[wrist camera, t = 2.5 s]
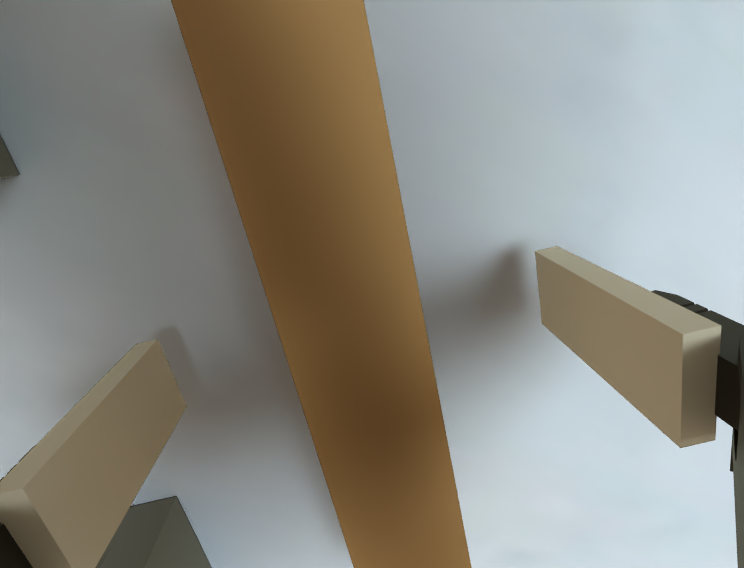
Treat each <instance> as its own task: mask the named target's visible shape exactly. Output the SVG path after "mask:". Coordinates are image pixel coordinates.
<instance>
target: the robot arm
mask: <svg viewBox="0 0 744 568" xmlns="http://www.w3.org/2000/svg"><path fill="white" fill-rule="evenodd" d="M535 257H536V267H537V277H538V288H539V298H540V308H541V319H542V324H543V325H544V326H545V327H546V328H547V329H549V330H550V331H551V332H552V333H553V334H554V335H555V336H556V337H557V338H559V339H560V340H561V341H562V342H563V343H564V344H565V345H566V346H567V347H569V348H570V349H571V350H572V351H573V352H574V353H575V354H576V355H577V356H579V357H580V358H581V359H582V360H583V361H584V362H585V363H586V364H587V365H589V366H590V367H591V368H592V369H593V370H594V371H595V372H596V373H597V374H599V375H600V376H601V377H602V378H603V379H604V380H605V381H606V382H607V383H609V384H610V385H611V386H612V387H613V388H614V389H615V390H616V391H618V392H619V393H620V394H621V395H622V396H623V397H624V398H625V399H626V400H628V401H629V402H630V403H631V404H632V405H633V406H634V407H635V408H636V409H638V410H639V411H640V412H641V413H642V414H643V415H644V416H645V417H646V418H648V419H649V420H650V421H651V422H652V423H653V424H654V425H655V426H656V427H658V428H659V429H660V430H661V431H662V432H663V433H664V434H665V435H666V436H668V437H669V438H670V439H671V440H672V441H673V442H674V443H675V444H676V445H678V446H679V447H680V448H683V447H687V446H692V445H696V444H700V443H705V442H709V441H713V440H715V435H716V417H717V416H718V417H719V418H721V419H722V420H723V421H725V422H726V423H727V424H729V425H730V426H732V427H733V435H732V449H731V464H730V471H732V472H733V474H734V495H735V516H736V537H737V559H738V568H744V325H742V324H740V323H737V322H735V321H733V320H731V319H729V318H726V317H724V316H722V315H720V314H718V313H716V312H713V311H708V309H707V308H705V307H702V306H700V305H698V304H695V305H694V302H691V301H689V300H687V299H685V298H683V297H680V296H678V295H675V294H670V293H666V292H661V291H657V290H655V291H649V290H647V289H645V288H643V287H641V286H639V285H636V284H634V283H632V282H630V281H628V280H626V279H624V278H622V277H620V276H618V275H616V274H614V273H612V272H610V271H608V270H605V269H603V268H601V267H599V266H597V265H595V264H593V263H591V262H589V261H587V260H585V259H583V258H581V257H579V256H576V255H574V254H572V253H570V252H568V251H566V250H564V249H562V248H560V247H558V246H555V247H551V248H546V249H542V250H538V251H535ZM186 407H187V406H186V403H185V401H184V399H183V396H182V394H181V392H180V389H179V387H178V385H177V382H176V380H175V378H174V375H173V373H172V370H171V368H170V366H169V363H168V361H167V359H166V356H165V354H164V352H163V349H162V347H161V345H160V342H159V340H158V339H156V340H152V341H147V342H143V343H139V344H136V345H135V346H134V347H133V348H132V349H131V350H130V351H129V352H128V353H127V354H126V355H125V356H124V357H123V358H122V359H121V360H120V361H119V362H118V363H117V364H116V365H115V366H114V367H113V368H112V369H111V370H110V371H109V372H108V373H107V374H106V375H105V376H104V377H103V378H102V379H101V380H100V381H99V382H98V383H97V384H96V385H95V386H94V387H93V388H92V389H91V390H90V391H89V392H88V393H87V394H86V395H85V396H84V397H83V398H82V399H81V400H80V401H79V402H78V403H77V404H76V405H75V406H74V407H73V408H72V409H71V410H70V411H69V412H68V413H67V414H66V415H65V416H64V417H63V418H62V419H61V420H60V421H59V422H58V423H57V424H56V425H55V426H54V428H53V429H52V430H51V431H50V432H49V433H48V434H47V435H46V436H45V437H44V438H43V439H42V440H41V441H40V442H39V443H38V444H37V445H35V446H34V447H33V448H32V449H31V450H30V451H29V452H28V453H27V454H26V455H25V456H24V457H23V458H22V459H21V460H20V461H19V463H18V464H16V465H15V466H14V467H13V468H12V469H11V470H10V471H9V472H8V473H7V475H6V476H5V477H3V478H2V479H1V480H0V568H95V567H96V566H97V564H98V562H99V560H100V558H101V557H102V555H103V553H104V551H105V550H106V548H107V546H108V544H109V543H110V541H111V539H112V537H113V536H114V534H115V532H116V530H117V529H118V527H119V525H120V523H121V522H122V520H123V518H124V516H125V514H126V513H127V511H128V509H129V507H130V506H131V504H132V502H133V500H134V499H135V497H136V495H137V493H138V492H139V490H140V488H141V486H142V485H143V483H144V481H145V479H146V477H147V476H148V474H149V472H150V470H151V469H152V467H153V465H154V463H155V462H156V460H157V458H158V456H159V455H160V453H161V451H162V449H163V448H164V446H165V444H166V442H167V440H168V439H169V437H170V435H171V433H172V432H173V430H174V428H175V426H176V425H177V423H178V421H179V419H180V418H181V416H182V414H183V412H184V411H185V409H186Z"/></svg>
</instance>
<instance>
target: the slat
mask: <svg viewBox="0 0 744 568" xmlns="http://www.w3.org/2000/svg"><path fill="white" fill-rule="evenodd" d="M171 2H172V5H173V8H174V11H175V14H176V17H177V20H178V23H179V27H180V30H181V33H182V36H183V39H184V42H185V45H186V48H187V51H188V54H189V58H190V61H191V64H192V67H193V70H194V73H195V76H196V79H197V82H198V85H199V89H200V92H201V95H202V98H203V101H204V104H205V107H206V110H207V113H208V116H209V120H210V123H211V126H212V129H213V132H214V135H215V138H216V141H217V144H218V148H219V151H220V154H221V157H222V160H223V163H224V166H225V169H226V172H227V175H228V179H229V182H230V185H231V188H232V191H233V194H234V197H235V200H236V203H237V206H238V210H239V213H240V216H241V219H242V222H243V225H244V228H245V231H246V234H247V237H248V241H249V244H250V247H251V250H252V253H253V256H254V259H255V262H256V265H257V268H258V272H259V275H260V278H261V281H262V284H263V287H264V290H265V293H266V296H267V300H268V303H269V306H270V309H271V312H272V315H273V318H274V321H275V324H276V327H277V331H278V334H279V337H280V340H281V343H282V346H283V349H284V352H285V355H286V358H287V362H288V365H289V368H290V371H291V374H292V377H293V380H294V383H295V386H296V389H297V393H298V396H299V399H300V402H301V405H302V408H303V411H304V414H305V417H306V421H307V424H308V427H309V430H310V433H311V436H312V439H313V442H314V445H315V448H316V452H317V455H318V458H319V461H320V464H321V467H322V470H323V473H324V476H325V479H326V483H327V486H328V489H329V492H330V495H331V498H332V501H333V504H334V507H335V510H336V514H337V517H338V520H339V523H340V526H341V529H342V532H343V535H344V538H345V542H346V545H347V548H348V551H349V554H350V557H351V560H352V563H353V566H354V568H471V563H470V558H469V552H468V547H467V542H466V537H465V531H464V526H463V521H462V516H461V510H460V505H459V500H458V494H457V489H456V484H455V479H454V473H453V468H452V463H451V458H450V452H449V447H448V442H447V437H446V431H445V426H444V421H443V416H442V410H441V405H440V400H439V395H438V389H437V384H436V379H435V374H434V368H433V363H432V358H431V352H430V347H429V342H428V337H427V331H426V326H425V321H424V316H423V310H422V305H421V300H420V295H419V289H418V284H417V279H416V274H415V268H414V263H413V258H412V253H411V247H410V242H409V237H408V232H407V226H406V221H405V216H404V210H403V205H402V200H401V195H400V189H399V184H398V179H397V174H396V168H395V163H394V158H393V153H392V147H391V142H390V137H389V132H388V126H387V121H386V116H385V111H384V105H383V100H382V95H381V90H380V84H379V79H378V74H377V68H376V63H375V58H374V53H373V47H372V42H371V37H370V32H369V26H368V21H367V16H366V11H365V5H364V0H171Z"/></svg>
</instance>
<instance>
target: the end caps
mask: <svg viewBox="0 0 744 568" xmlns="http://www.w3.org/2000/svg"><path fill="white" fill-rule="evenodd" d="M16 175H19V173H18V171H17V169H16V167H15V165H14V162H13V160H12V158H11V156H10V154H9V152H8V150H7V148H6V146H5V144H4V142H3V140H2V138H1V136H0V179H3V178H7V177H12V176H16ZM95 568H211V566H210V564H209V562H208V560H207V558H206V556H205V554H204V552H203V550H202V548H201V546H200V544H199V541H198V539H197V537H196V535H195V533H194V531H193V529H192V527H191V525H190V523H189V521H188V519H187V517H186V515H185V513H184V511H183V509H182V507H181V505H180V503H179V501H178V498H177V496H176V497H171V498H167V499H163V500H158V501H154V502H149V503H145V504H140V505H136V506H132V507H129V509H128V511H127V513H126V514H125V516H124V518H123V520H122V522H121V523H120V525H119V527H118V529H117V530H116V532H115V534H114V536H113V537H112V539H111V541H110V543H109V544H108V546H107V548H106V550H105V551H104V553H103V555H102V557H101V558H100V560H99V562H98V564H97V566H96V567H95Z"/></svg>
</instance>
